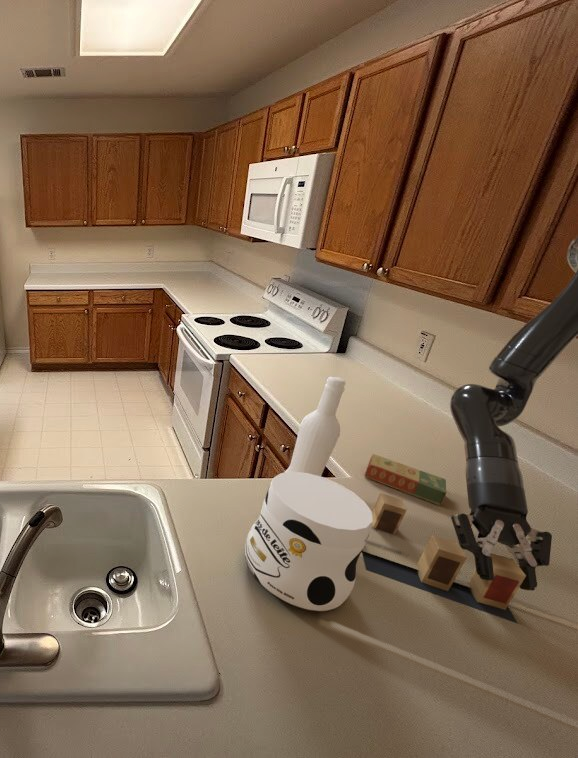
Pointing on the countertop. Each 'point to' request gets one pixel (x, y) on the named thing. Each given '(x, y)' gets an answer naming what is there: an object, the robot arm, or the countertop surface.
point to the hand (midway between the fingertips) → (507, 584)
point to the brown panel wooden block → (440, 562)
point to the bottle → (318, 432)
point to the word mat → (412, 578)
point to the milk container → (308, 540)
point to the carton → (407, 479)
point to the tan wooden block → (388, 513)
